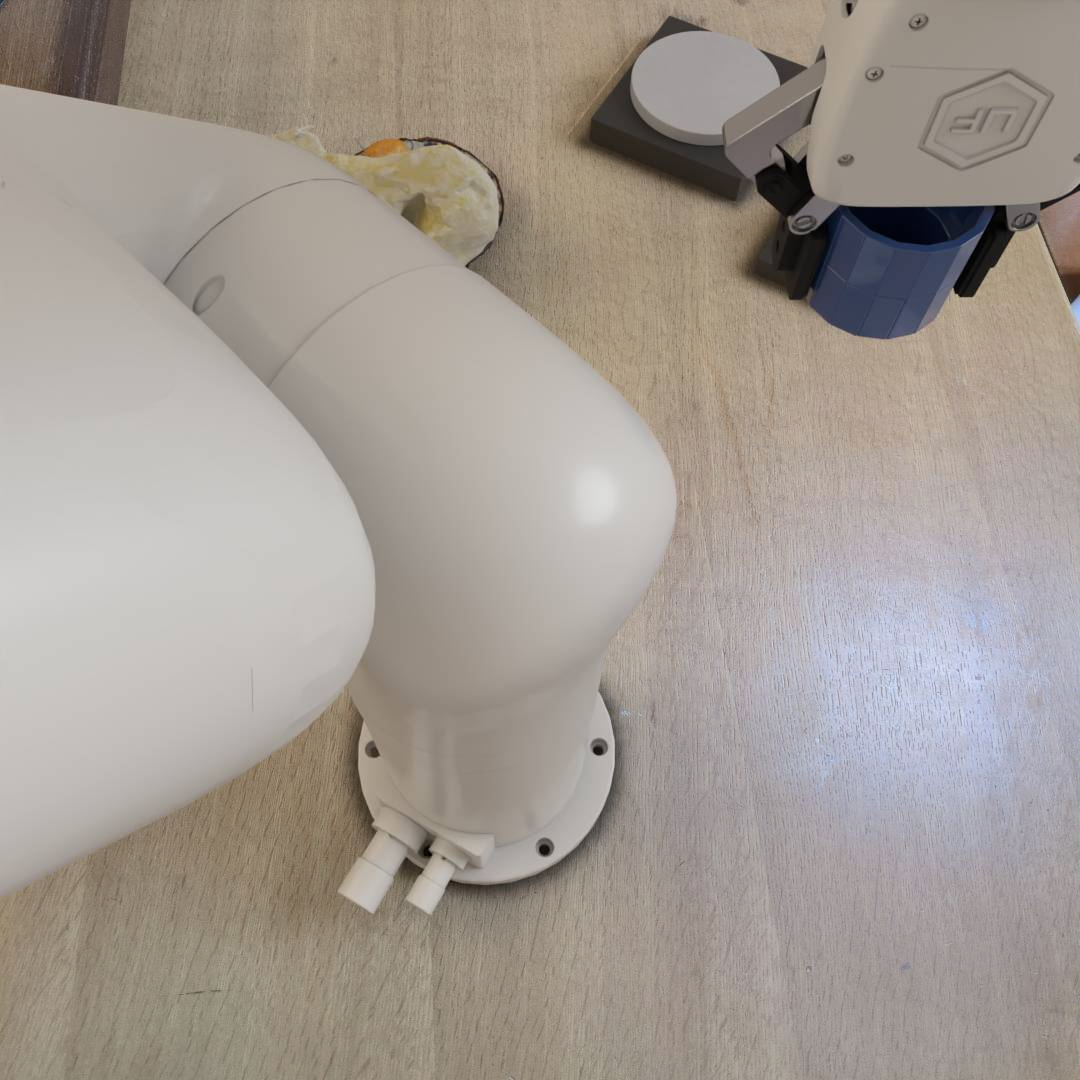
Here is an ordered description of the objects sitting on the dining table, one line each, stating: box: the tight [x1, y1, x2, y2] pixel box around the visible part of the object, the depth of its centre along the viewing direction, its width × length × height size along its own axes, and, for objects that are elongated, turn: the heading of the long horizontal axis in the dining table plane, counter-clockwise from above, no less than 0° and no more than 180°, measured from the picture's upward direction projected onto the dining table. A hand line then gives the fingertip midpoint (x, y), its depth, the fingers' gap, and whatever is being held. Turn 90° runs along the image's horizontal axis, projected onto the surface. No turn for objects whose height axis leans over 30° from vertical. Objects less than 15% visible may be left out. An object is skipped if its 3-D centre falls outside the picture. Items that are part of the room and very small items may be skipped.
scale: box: [588, 15, 808, 202], centre depth 70 cm, size 12×11×3 cm
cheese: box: [269, 124, 499, 266], centre depth 63 cm, size 15×7×15 cm
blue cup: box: [805, 205, 995, 340], centre depth 43 cm, size 6×6×6 cm
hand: (875, 270), depth 45 cm, fingers closed on blue cup, 6 cm apart
